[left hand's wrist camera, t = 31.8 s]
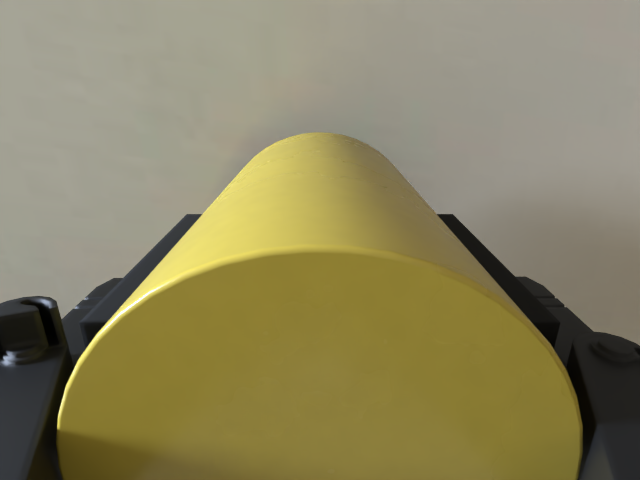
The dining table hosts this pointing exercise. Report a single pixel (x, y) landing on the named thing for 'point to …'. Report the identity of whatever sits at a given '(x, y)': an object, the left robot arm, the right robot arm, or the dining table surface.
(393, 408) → the canister
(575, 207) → the dining table surface
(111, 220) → the dining table surface
